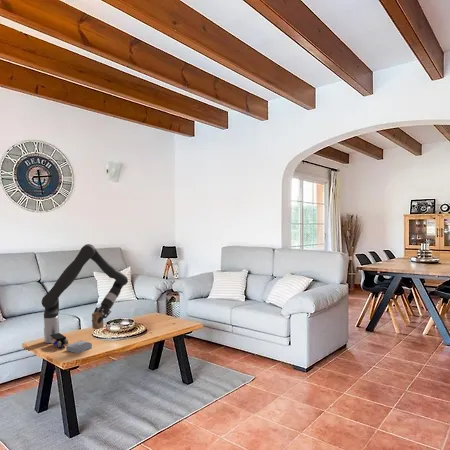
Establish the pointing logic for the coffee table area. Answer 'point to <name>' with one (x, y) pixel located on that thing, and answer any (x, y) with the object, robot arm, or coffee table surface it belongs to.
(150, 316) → the coffee table surface
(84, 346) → the blue-grey square slab
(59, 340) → the figurine character
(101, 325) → the walnut block
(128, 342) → the coffee table surface
